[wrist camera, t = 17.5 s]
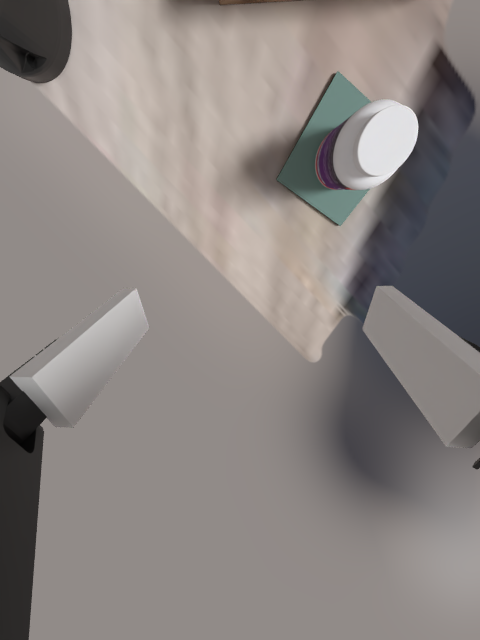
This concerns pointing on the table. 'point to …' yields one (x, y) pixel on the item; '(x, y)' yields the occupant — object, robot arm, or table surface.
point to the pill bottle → (367, 146)
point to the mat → (301, 162)
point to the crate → (248, 1)
